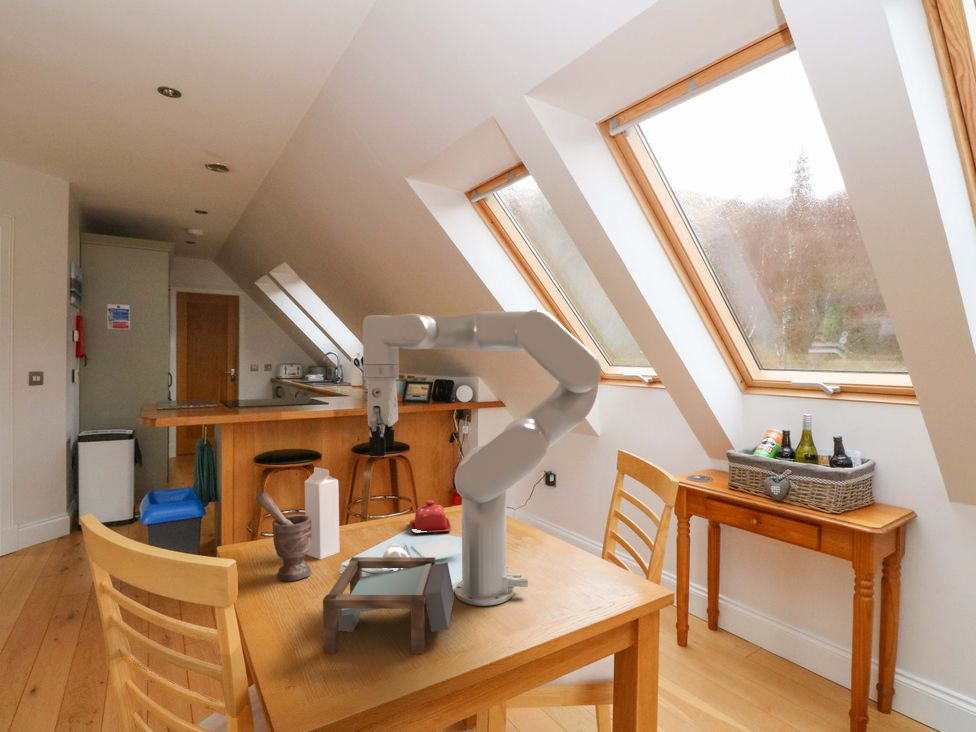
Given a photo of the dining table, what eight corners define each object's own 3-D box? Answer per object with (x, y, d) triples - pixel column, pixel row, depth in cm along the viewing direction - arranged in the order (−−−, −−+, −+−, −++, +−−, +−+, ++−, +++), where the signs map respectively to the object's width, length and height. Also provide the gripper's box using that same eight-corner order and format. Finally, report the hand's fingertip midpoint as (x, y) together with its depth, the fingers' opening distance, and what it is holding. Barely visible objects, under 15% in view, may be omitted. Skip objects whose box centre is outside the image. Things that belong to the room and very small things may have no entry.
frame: (435, 602, 115) (435, 557, 115) (423, 654, 96) (422, 600, 96) (352, 602, 115) (352, 557, 115) (323, 653, 96) (322, 599, 96)
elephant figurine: (378, 568, 133) (377, 543, 133) (411, 564, 135) (411, 540, 135) (380, 579, 126) (380, 554, 126) (415, 575, 128) (415, 550, 128)
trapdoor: (454, 593, 113) (447, 560, 112) (447, 631, 98) (440, 592, 98) (367, 609, 113) (361, 575, 113) (348, 649, 98) (340, 610, 98)
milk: (325, 547, 146) (324, 464, 145) (339, 552, 143) (338, 467, 142) (305, 554, 141) (303, 468, 141) (320, 560, 138) (318, 472, 137)
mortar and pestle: (262, 589, 122) (260, 499, 121) (256, 575, 129) (254, 490, 128) (316, 578, 127) (314, 491, 126) (308, 565, 135) (306, 483, 134)
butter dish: (411, 537, 154) (410, 507, 154) (409, 523, 166) (409, 495, 165) (452, 534, 156) (452, 504, 156) (448, 521, 168) (447, 493, 167)
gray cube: (359, 593, 108) (333, 593, 108) (352, 605, 103) (325, 605, 103) (359, 618, 109) (334, 618, 109) (352, 632, 104) (326, 632, 104)
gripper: (390, 375, 111) (392, 460, 112) (405, 370, 128) (406, 444, 129) (353, 375, 111) (354, 460, 112) (373, 370, 128) (374, 444, 129)
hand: (382, 451), depth 120 cm, fingers open, 9 cm apart
